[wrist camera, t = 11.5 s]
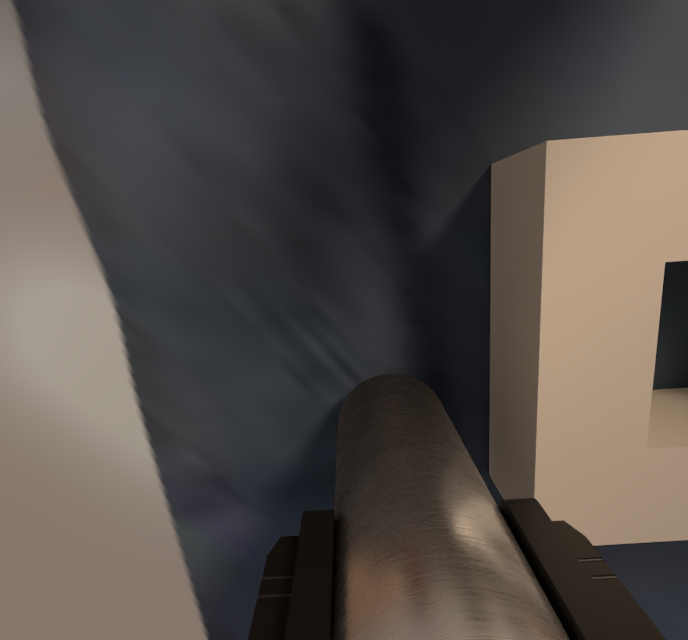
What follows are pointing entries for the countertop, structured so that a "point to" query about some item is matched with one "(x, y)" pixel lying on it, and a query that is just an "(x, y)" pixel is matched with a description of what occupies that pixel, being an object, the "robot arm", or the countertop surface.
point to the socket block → (588, 334)
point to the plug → (422, 530)
